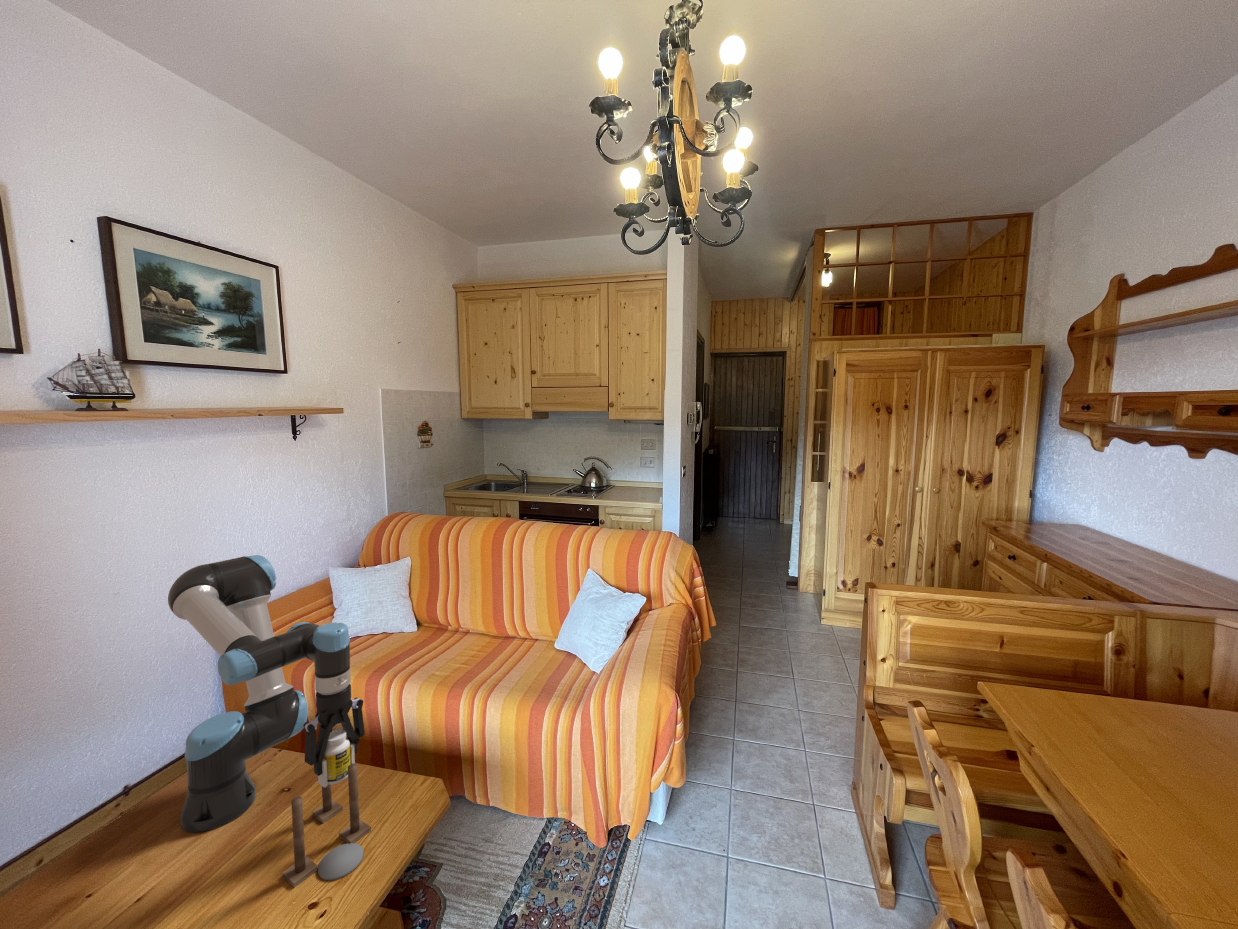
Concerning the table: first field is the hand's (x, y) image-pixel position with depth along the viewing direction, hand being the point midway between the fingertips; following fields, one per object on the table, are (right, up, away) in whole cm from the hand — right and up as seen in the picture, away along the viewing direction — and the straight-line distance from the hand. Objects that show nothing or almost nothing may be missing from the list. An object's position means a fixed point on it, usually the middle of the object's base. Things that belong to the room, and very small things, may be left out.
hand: (337, 775), depth 121 cm
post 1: (-1, -14, -13) cm, 19 cm away
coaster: (+7, -14, -10) cm, 18 cm away
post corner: (+6, -13, -2) cm, 14 cm away
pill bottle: (0, -1, 0) cm, 1 cm away
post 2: (-5, -12, +4) cm, 14 cm away
